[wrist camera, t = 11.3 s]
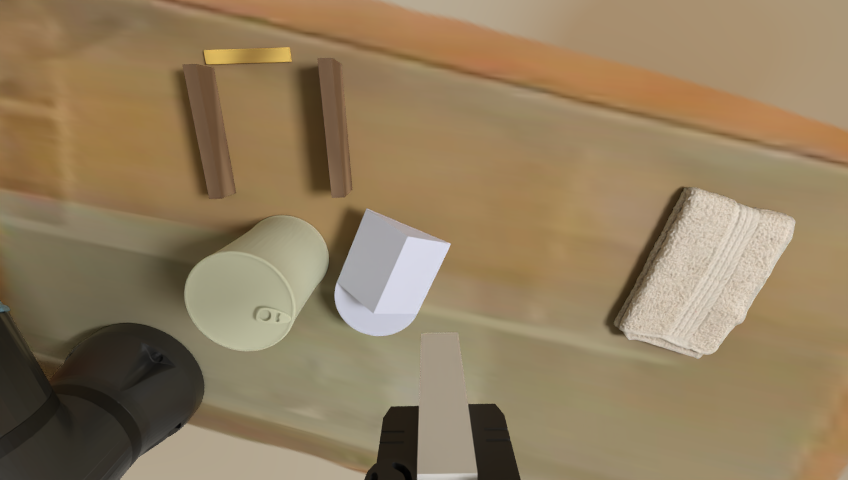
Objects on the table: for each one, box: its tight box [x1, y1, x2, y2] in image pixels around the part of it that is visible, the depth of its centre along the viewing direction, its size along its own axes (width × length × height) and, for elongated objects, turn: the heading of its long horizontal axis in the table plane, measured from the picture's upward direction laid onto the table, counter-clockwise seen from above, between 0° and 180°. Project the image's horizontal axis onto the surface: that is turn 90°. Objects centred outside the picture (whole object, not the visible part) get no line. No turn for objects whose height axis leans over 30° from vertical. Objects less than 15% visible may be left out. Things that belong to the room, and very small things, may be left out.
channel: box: [183, 47, 352, 199], centre depth 37 cm, size 13×14×4 cm
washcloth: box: [613, 187, 795, 359], centre depth 42 cm, size 12×18×3 cm, turn 164°
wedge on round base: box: [335, 209, 451, 336], centre depth 40 cm, size 9×7×13 cm
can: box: [184, 215, 329, 351], centre depth 37 cm, size 9×9×12 cm
